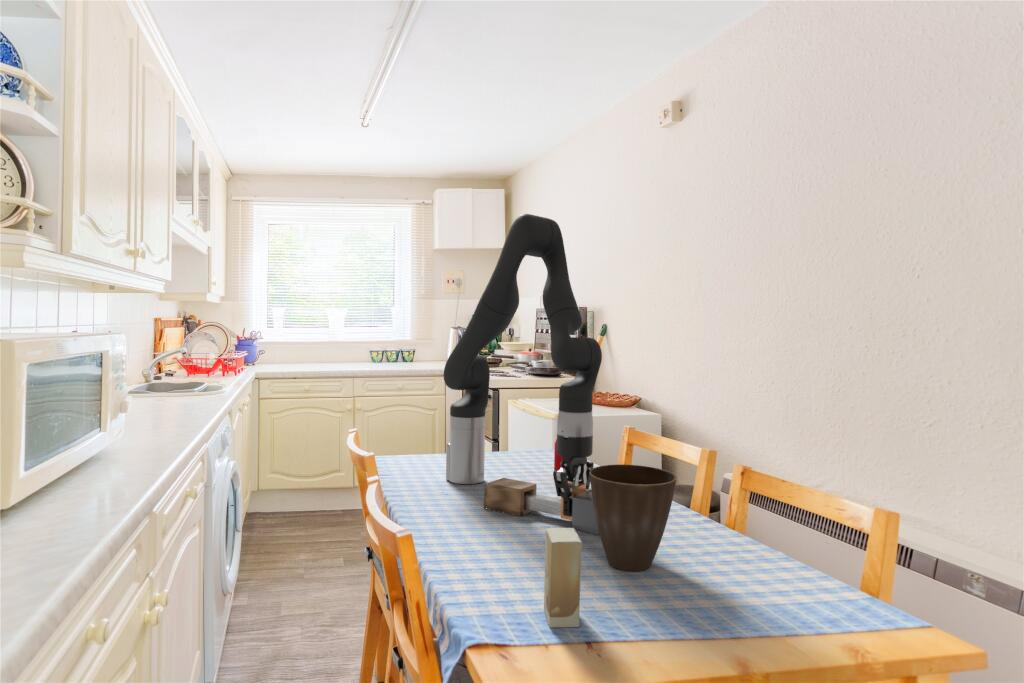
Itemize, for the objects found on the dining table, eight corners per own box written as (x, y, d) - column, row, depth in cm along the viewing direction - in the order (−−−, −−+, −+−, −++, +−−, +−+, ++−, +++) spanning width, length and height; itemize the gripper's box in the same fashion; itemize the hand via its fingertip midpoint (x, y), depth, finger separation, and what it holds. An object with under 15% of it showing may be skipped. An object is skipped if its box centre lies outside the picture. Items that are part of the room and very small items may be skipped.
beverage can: (576, 486, 171) (577, 440, 171) (552, 485, 172) (553, 439, 172) (578, 481, 177) (579, 436, 177) (555, 479, 178) (556, 435, 178)
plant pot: (677, 555, 122) (680, 468, 121) (669, 585, 107) (671, 487, 107) (597, 545, 126) (598, 461, 126) (578, 572, 112) (580, 478, 112)
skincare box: (543, 609, 98) (544, 526, 98) (572, 608, 98) (574, 526, 98) (549, 629, 91) (550, 541, 91) (580, 628, 92) (582, 541, 91)
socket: (571, 529, 136) (572, 497, 136) (590, 519, 143) (590, 489, 142) (607, 536, 132) (608, 504, 131) (624, 526, 138) (625, 495, 138)
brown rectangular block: (483, 508, 150) (484, 482, 149) (500, 502, 155) (500, 477, 155) (520, 516, 144) (520, 489, 144) (535, 509, 149) (536, 483, 149)
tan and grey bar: (517, 508, 146) (517, 476, 146) (525, 505, 149) (526, 473, 149) (597, 525, 135) (598, 490, 135) (604, 521, 138) (605, 487, 138)
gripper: (575, 426, 148) (573, 503, 148) (542, 434, 136) (540, 518, 137) (606, 430, 144) (604, 509, 144) (574, 439, 132) (572, 525, 132)
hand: (573, 513), depth 140 cm, fingers closed on tan and grey bar, 3 cm apart
